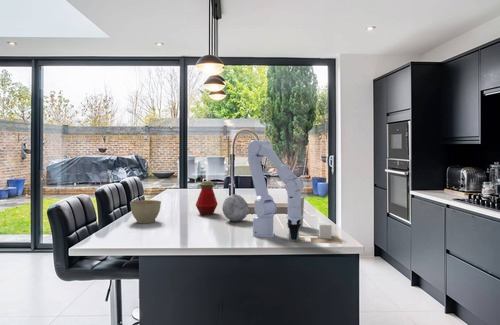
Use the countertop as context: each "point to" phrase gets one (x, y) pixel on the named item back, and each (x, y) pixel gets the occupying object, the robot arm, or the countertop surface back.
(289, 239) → the blue cylinder
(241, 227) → the countertop surface
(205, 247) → the countertop surface
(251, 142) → the robot arm
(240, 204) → the decorative orb
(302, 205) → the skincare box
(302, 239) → the board
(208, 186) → the bottle
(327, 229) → the grey block
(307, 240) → the letter T
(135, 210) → the planter bowl
